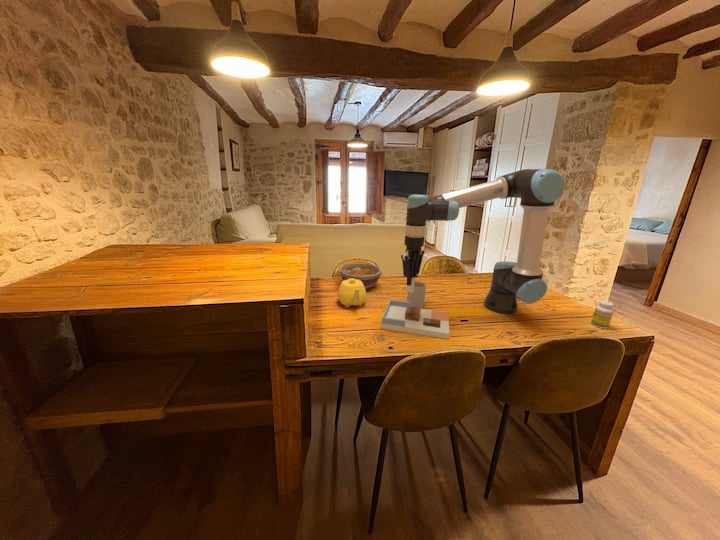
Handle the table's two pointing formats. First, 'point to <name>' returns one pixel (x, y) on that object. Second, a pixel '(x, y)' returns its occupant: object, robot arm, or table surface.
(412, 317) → the walnut block
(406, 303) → the deck
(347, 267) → the bowl
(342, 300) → the teapot
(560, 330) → the table surface
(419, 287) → the mug
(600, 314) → the pill bottle
